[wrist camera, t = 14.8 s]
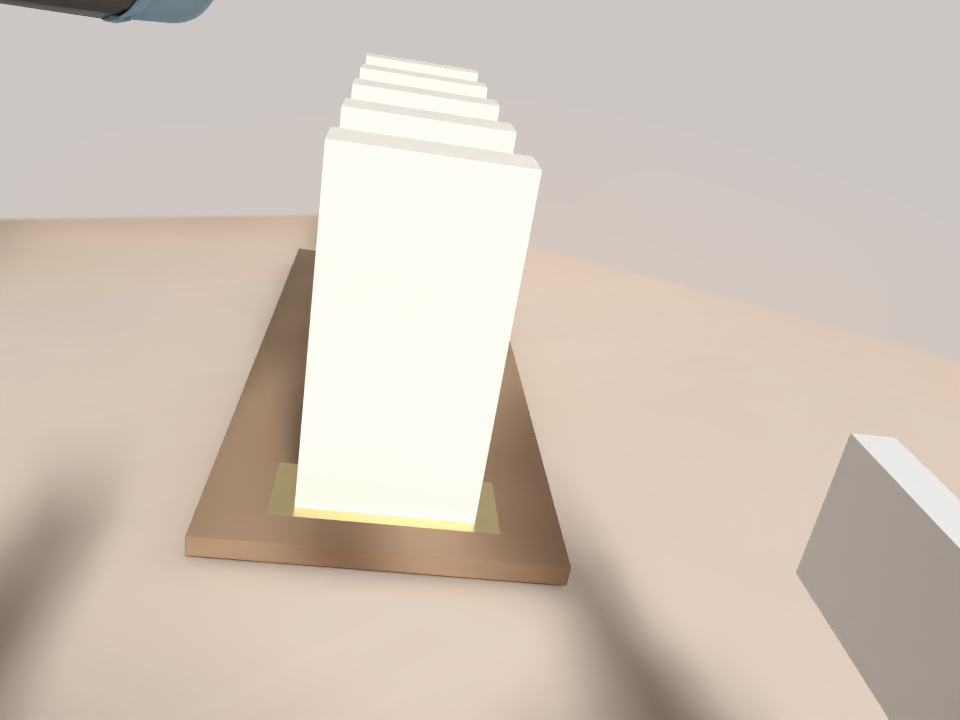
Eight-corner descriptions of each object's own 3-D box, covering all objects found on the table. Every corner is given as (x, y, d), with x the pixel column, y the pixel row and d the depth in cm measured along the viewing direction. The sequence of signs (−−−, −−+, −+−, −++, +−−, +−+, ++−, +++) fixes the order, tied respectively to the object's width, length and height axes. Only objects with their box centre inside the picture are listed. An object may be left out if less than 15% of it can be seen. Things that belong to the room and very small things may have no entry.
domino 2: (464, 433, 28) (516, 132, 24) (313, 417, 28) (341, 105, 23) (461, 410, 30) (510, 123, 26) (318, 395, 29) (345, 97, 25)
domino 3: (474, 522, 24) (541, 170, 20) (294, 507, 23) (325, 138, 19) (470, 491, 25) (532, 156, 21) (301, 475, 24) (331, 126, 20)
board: (185, 555, 21) (185, 535, 21) (298, 260, 43) (299, 248, 43) (566, 585, 23) (570, 567, 22) (489, 284, 44) (491, 273, 44)
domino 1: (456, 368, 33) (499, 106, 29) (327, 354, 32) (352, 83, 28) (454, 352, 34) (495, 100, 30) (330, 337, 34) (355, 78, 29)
